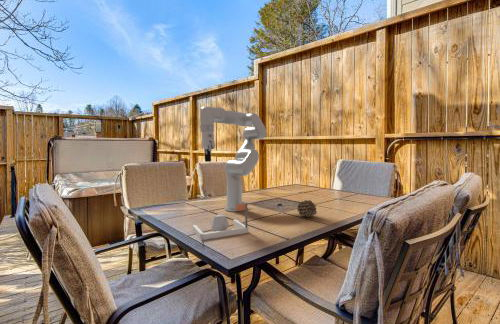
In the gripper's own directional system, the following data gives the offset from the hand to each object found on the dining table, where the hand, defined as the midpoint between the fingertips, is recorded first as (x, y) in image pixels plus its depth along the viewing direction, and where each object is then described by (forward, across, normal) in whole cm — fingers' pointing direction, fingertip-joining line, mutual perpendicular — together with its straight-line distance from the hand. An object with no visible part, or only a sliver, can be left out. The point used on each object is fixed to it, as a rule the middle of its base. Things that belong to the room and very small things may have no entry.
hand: (207, 161), depth 159 cm
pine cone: (+32, -22, -50) cm, 64 cm away
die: (+32, -28, +3) cm, 43 cm away
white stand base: (+32, -27, +3) cm, 42 cm away
